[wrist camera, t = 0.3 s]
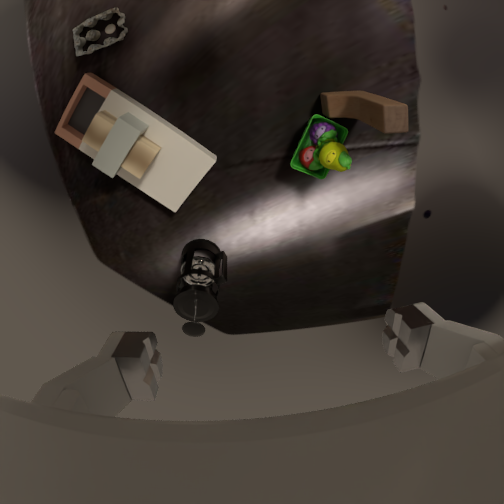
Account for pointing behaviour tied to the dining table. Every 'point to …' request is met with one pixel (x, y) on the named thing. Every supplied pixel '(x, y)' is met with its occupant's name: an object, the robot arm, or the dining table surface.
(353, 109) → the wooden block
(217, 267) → the french press
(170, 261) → the dining table surface
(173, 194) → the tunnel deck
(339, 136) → the fruit basket
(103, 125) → the maple bar
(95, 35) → the egg carton
